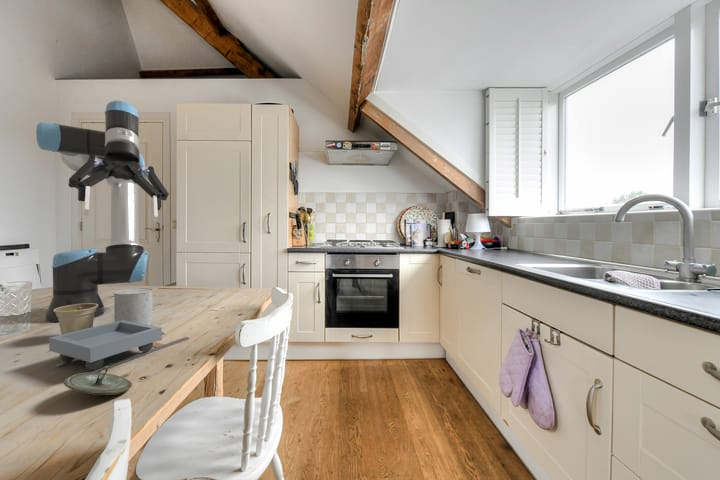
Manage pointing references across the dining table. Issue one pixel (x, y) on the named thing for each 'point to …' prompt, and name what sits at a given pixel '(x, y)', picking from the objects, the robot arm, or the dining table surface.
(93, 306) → the flower pot
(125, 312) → the grey canister
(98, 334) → the cart
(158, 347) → the track
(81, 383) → the lid
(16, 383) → the dining table surface
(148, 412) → the dining table surface
